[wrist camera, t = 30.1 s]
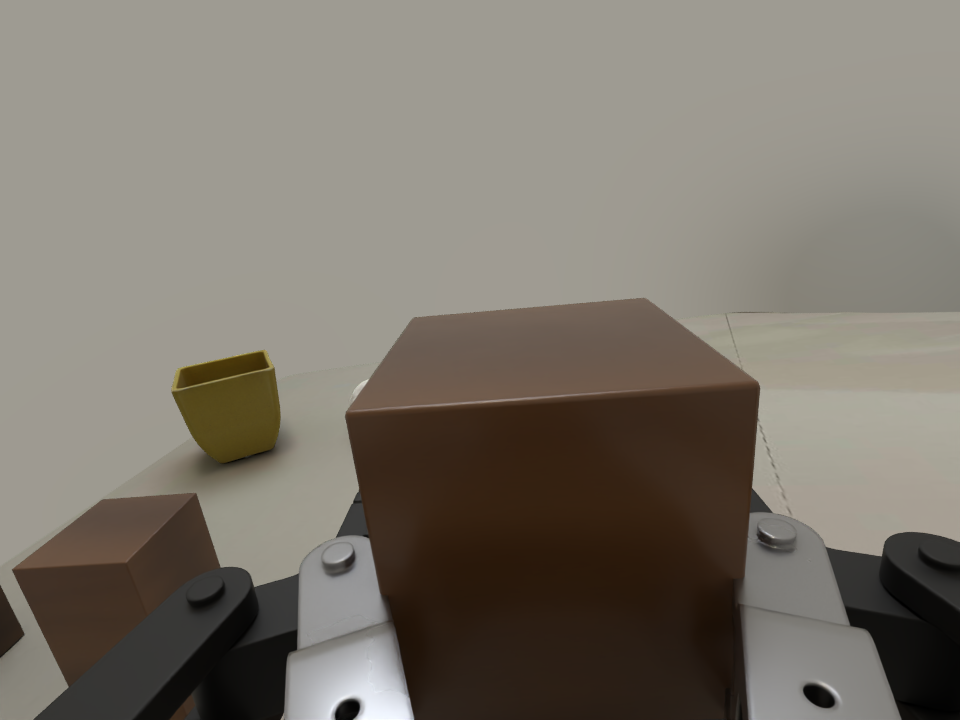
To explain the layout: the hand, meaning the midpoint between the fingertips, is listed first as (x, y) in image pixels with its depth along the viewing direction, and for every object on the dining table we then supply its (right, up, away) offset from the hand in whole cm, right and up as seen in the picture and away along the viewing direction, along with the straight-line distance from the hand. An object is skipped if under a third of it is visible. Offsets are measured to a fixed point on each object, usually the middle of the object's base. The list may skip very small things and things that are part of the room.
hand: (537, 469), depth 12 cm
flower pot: (-26, -7, +41) cm, 49 cm away
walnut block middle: (-17, -14, +14) cm, 26 cm away
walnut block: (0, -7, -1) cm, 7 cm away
